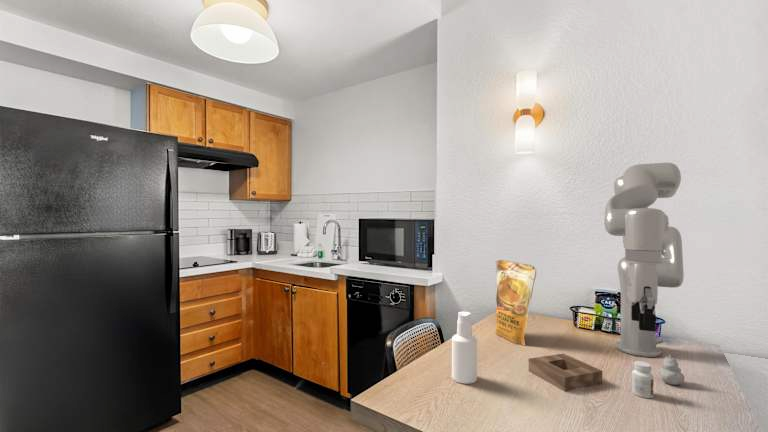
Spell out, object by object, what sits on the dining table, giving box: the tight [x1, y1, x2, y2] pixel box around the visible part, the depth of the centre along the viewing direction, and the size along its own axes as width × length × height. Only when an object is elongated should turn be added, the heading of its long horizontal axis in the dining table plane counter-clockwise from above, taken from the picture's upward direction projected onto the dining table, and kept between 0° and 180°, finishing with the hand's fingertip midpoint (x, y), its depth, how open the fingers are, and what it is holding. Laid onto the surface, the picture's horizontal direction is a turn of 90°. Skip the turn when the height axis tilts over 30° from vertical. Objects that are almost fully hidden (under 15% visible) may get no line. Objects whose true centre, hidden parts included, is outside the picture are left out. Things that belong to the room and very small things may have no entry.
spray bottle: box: [451, 311, 478, 385], centre depth 99 cm, size 7×7×18 cm
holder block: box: [528, 353, 603, 392], centre depth 100 cm, size 13×13×4 cm
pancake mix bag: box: [494, 259, 537, 346], centre depth 133 cm, size 7×19×28 cm, turn 20°
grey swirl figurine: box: [658, 354, 685, 386], centre depth 97 cm, size 5×7×8 cm
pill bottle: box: [631, 360, 654, 399], centre depth 91 cm, size 4×4×8 cm
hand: (642, 325), depth 91 cm, fingers open, 9 cm apart
